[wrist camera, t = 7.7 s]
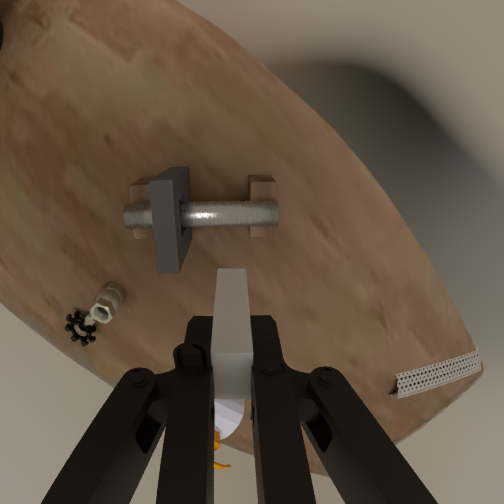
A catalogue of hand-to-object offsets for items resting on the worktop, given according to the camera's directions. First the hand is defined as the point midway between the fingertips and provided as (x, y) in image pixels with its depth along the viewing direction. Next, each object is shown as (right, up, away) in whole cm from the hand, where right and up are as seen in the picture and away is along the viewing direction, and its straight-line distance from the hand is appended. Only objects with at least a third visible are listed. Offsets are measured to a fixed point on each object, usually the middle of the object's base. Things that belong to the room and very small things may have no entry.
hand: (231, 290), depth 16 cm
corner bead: (+49, -29, +44) cm, 72 cm away
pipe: (-5, +7, +19) cm, 21 cm away
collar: (-8, +8, +22) cm, 25 cm away
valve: (-25, -7, +30) cm, 39 cm away
